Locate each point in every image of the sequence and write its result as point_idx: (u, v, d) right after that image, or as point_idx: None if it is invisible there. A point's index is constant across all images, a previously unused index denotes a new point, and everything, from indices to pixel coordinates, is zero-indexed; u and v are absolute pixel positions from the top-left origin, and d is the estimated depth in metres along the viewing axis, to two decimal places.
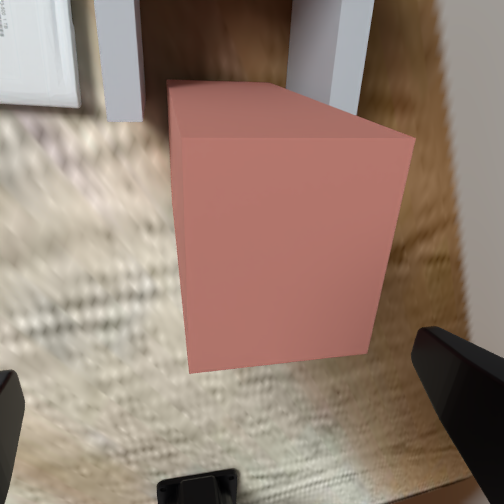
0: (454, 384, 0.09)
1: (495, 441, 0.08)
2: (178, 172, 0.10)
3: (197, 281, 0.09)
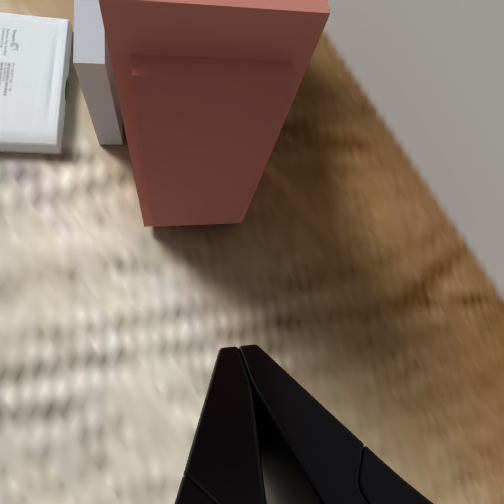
0: None
1: (273, 480, 0.07)
2: None
3: None
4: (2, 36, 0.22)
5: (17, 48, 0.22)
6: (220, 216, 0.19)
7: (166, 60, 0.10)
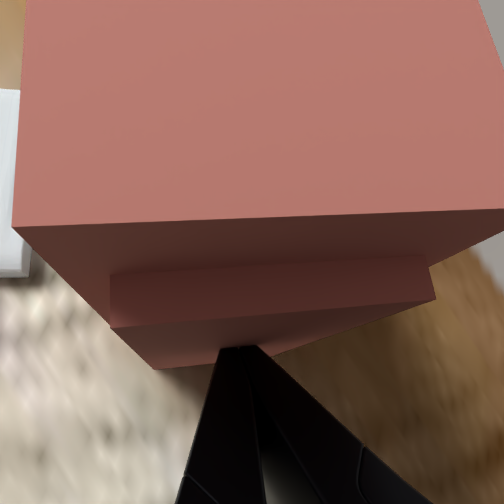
0: None
1: (273, 479, 0.07)
2: None
3: None
4: None
5: None
6: None
7: (184, 283, 0.05)
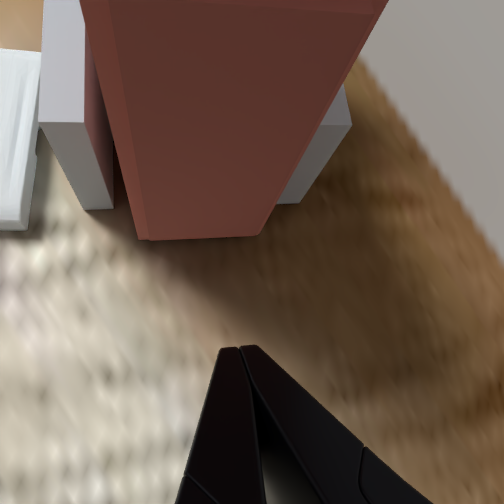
0: None
1: (273, 480, 0.07)
2: None
3: None
4: None
5: None
6: (234, 227, 0.15)
7: None
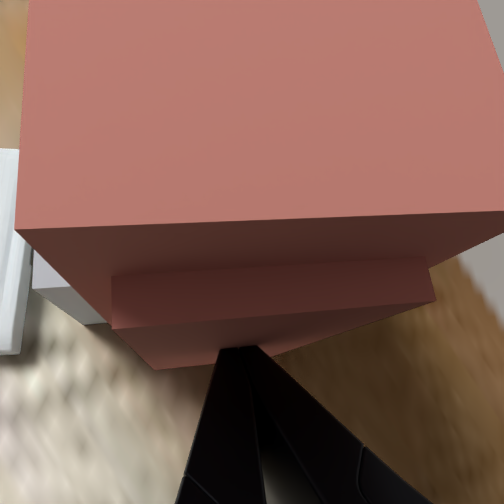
0: None
1: (273, 480, 0.07)
2: None
3: None
4: None
5: None
6: None
7: (185, 284, 0.05)
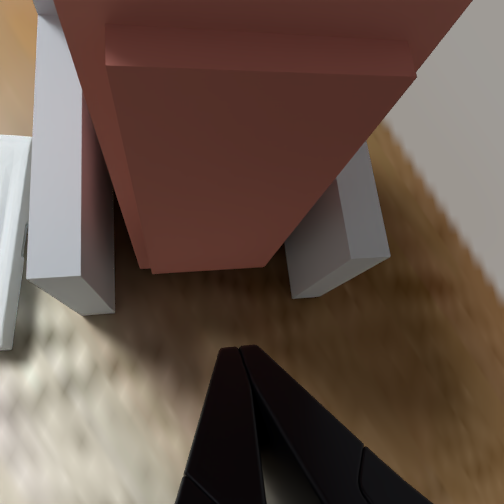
0: None
1: (273, 479, 0.07)
2: None
3: None
4: None
5: None
6: (242, 261, 0.14)
7: (175, 36, 0.05)
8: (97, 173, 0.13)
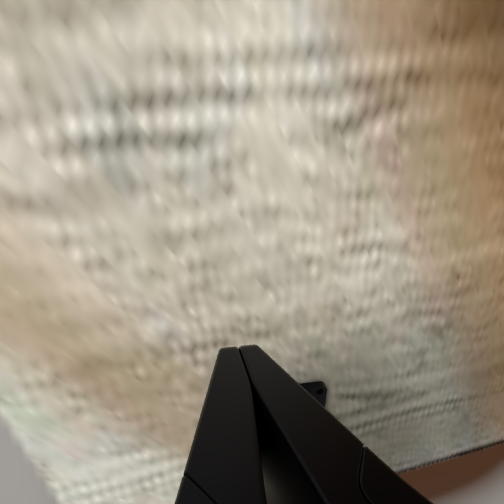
0: None
1: (273, 480, 0.07)
2: None
3: None
4: None
5: None
6: None
7: None
8: None
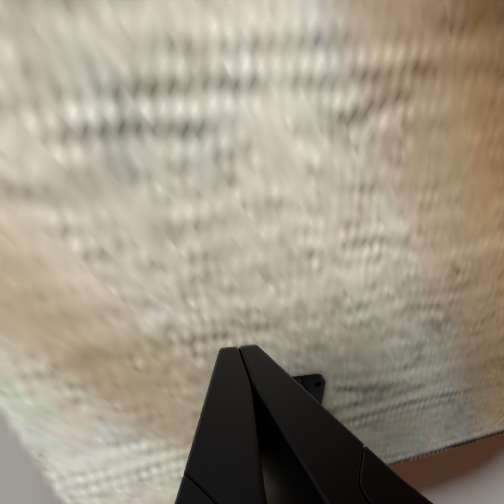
0: None
1: (273, 480, 0.07)
2: None
3: None
4: None
5: None
6: None
7: None
8: None
